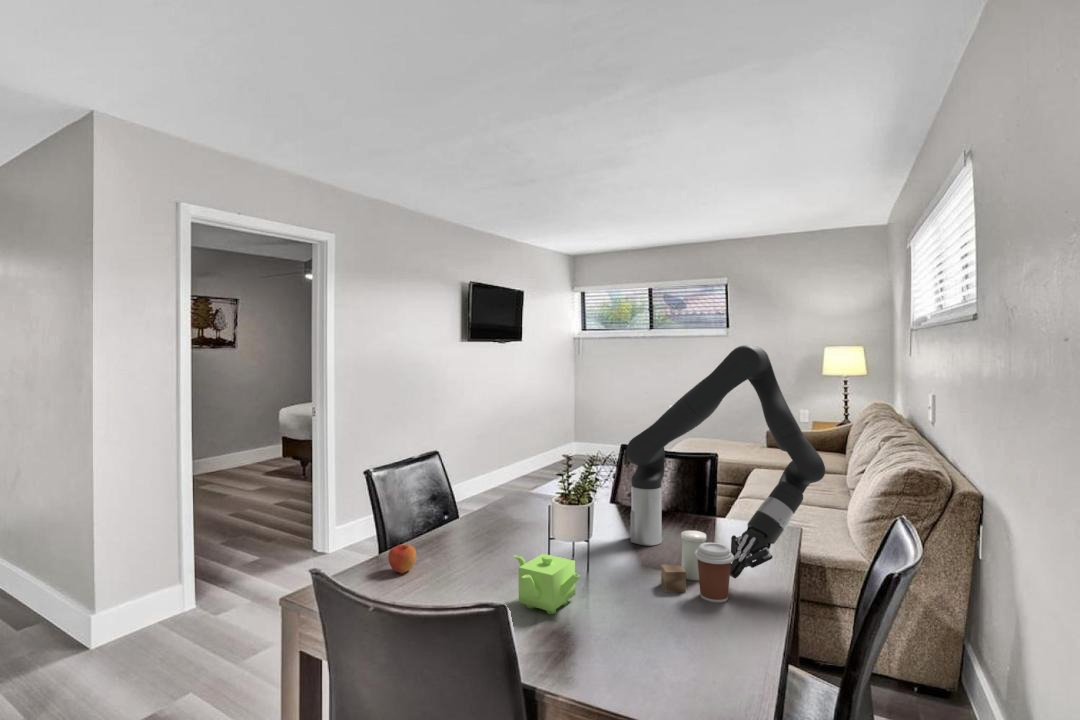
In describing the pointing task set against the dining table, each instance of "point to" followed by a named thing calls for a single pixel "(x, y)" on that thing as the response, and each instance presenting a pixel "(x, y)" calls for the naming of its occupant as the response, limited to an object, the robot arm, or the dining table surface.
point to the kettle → (546, 582)
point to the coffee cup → (714, 571)
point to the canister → (691, 552)
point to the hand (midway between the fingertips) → (731, 575)
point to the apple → (402, 558)
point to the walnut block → (673, 578)
